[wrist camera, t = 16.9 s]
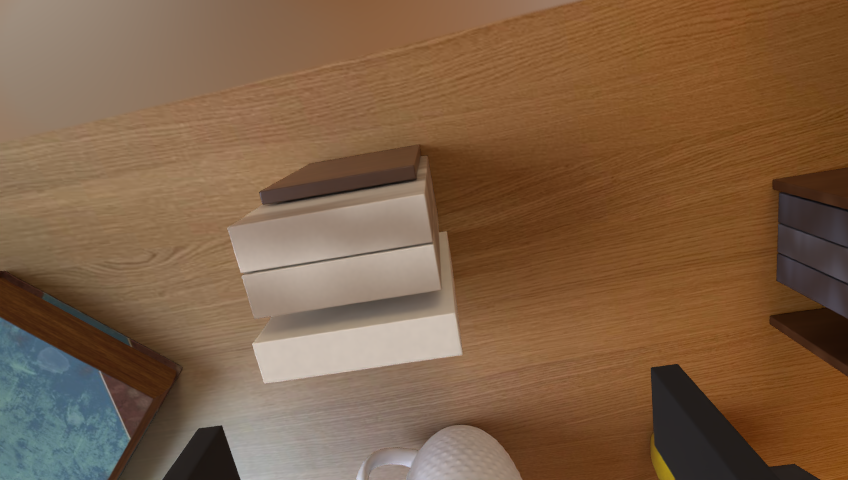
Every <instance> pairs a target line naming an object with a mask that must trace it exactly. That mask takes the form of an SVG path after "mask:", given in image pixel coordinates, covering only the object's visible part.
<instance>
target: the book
mask: <svg viewBox="0 0 848 480" xmlns="http://www.w3.org/2000/svg"><path fill="white" fill-rule="evenodd" d="M181 370H182V367H181V366H180V365H178V364H176V363H174V362H173V361H171V360H169V359H167V358H165V357H163V356H162V355H160V354H158V353H156V352H154V351H152V350H150V349H149V348H147V347H145V346H143V345H141V344H139V343H138V342H136V341H134V340H132V339H130V338H128V337H126V336H125V335H123V334H121V333H119V332H117V331H115V330H113V329H112V328H110V327H108V326H106V325H104V324H102V323H101V322H99V321H97V320H95V319H93V318H91V317H89V316H88V315H86V314H84V313H82V312H80V311H78V310H76V309H75V308H73V307H71V306H69V305H67V304H65V303H63V302H62V301H60V300H58V299H56V298H54V297H52V296H50V295H48V294H47V293H45V292H43V291H41V290H39V289H37V288H35V287H33V286H31V285H29V284H27V283H26V282H24V281H22V280H20V279H18V278H16V277H14V276H12V275H11V274H10V273H8V272H6V271H0V480H118V479H119V478H120V476H121V474H122V472H123V471H124V469H125V467H126V465H127V464H128V462H129V460H130V458H131V457H132V455H133V453H134V452H135V450H136V448H137V446H138V445H139V443H140V441H141V439H142V438H143V436H144V434H145V432H146V431H147V429H148V427H149V426H150V424H151V422H152V420H153V419H154V417H155V415H156V413H157V412H158V410H159V408H160V406H161V405H162V403H163V401H164V400H165V398H166V396H167V394H168V393H169V391H170V389H171V387H172V386H173V384H174V382H175V380H176V379H177V377H178V375H179V373H180V372H181Z"/></svg>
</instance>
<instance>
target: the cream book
mask: <svg viewBox="0 0 848 480" xmlns="http://www.w3.org/2000/svg"><path fill="white" fill-rule="evenodd" d="M439 244H440V262H441V281H442V290H438V291H431V292H425V293H418V294H412V295H406V296H399V297H393V298H387V299H380V300H374V301H367V302H361V303H355V304H348V305H342V306H335V307H329V308H323V309H316V310H310V311H304V312H297V313H291V314H284V315H278V316H272V318H271V319H270V320H269V322H268V323H267V324H266V326H265V327H264V329H263V330H262V331H261V333H260V334H259V336H258V337H257V338H256V340H255V341H254V343H253V348H254V351H255V355H256V358H257V361H258V365H259V368H260V371H261V375H262V378H263V381H264V384H268V383H274V382H281V381H288V380H295V379H302V378H308V377H315V376H322V375H329V374H335V373H342V372H349V371H356V370H363V369H369V368H376V367H383V366H390V365H396V364H403V363H410V362H417V361H423V360H430V359H437V358H444V357H451V356H457V355H462V354H463V351H462V343H461V334H460V326H459V318H458V310H457V301H456V293H455V285H454V277H453V269H452V260H451V254H450V248H449V242H448V236H447V232H446V231H445V232H439Z"/></svg>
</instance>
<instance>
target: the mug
mask: <svg viewBox="0 0 848 480" xmlns="http://www.w3.org/2000/svg"><path fill="white" fill-rule="evenodd" d="M386 464H399V465H404V466H407V467H410V470H409V472H408V474H407V479H406V480H523V479H522V478H521V476H520V473H519V471H518V470H517V468H516V467H515V464H514V462H513V461H512V460H511V458H510V456H509V454H508V453H507V452H506V451H505V449H504V448H503V446H502V445H500V444H499V443H498V441H497V440H496V439H494V438H493V437H492V436H491V435H489V434H488V433H486V432H485V431H483V430H481V429H479V428H477V427H473V426H469V425H454V426H449V427H446V428H444V429H442V430H440V431H438V432H437V433H435V434H434V435H433V436H432V437H431V438H430V439H429V440H428V441H427V442H426V443H425V444H424V445H423V447H422V448H421V449H420V450H415V449H407V448H398V447H397V448H384V449H380V450H378V451H376V452H374V453H372V454H371V455H369V456H368V457H367V458H366V460H365V461H364V462H363V464H362V465H361V467H360V470H359V472H358V475H357V479H356V480H368V477H369V474H370V472H371V471H372V470H373V469H374V468H376V467H378V466H382V465H386Z"/></svg>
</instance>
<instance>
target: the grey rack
mask: <svg viewBox="0 0 848 480" xmlns="http://www.w3.org/2000/svg"><path fill="white" fill-rule="evenodd" d="M773 189H774V190H778V191H781V193H779V213H778V222H780V224H778V252H779V253H778V254H777V281H778V282H780V283H782V284H784V285H786V286H788V287H789V288H791V289H793V290H795V291H797V292H799V293H801V294H803V295H804V296H806V297H808V298H810V299H812V300H814V301H816V302H818V303H819V304H821V305H823V306H825V307H827V308H822V309H815V310H808V311H801V312H794V313H788V314H781V315H774V316H770V325H772V326H773V327H775V328H776V329H778V330H779V331H781V332H782V333H784V334H785V335H787V336H788V337H790V338H791V339H793V340H794V341H796V342H797V343H799V344H800V345H802V346H803V347H805V348H806V349H808V350H809V351H811V352H812V353H814V354H815V355H816V356H818V357H819V358H821V359H822V360H824V361H825V362H827V363H828V364H830V365H831V366H833V367H834V368H836V369H837V370H839V371H840V372H842V373H843V374H845V375H846V376H848V168H842V169H836V170H830V171H824V172H818V173H811V174H805V175H799V176H793V177H787V178H781V179H775V180H773Z"/></svg>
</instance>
